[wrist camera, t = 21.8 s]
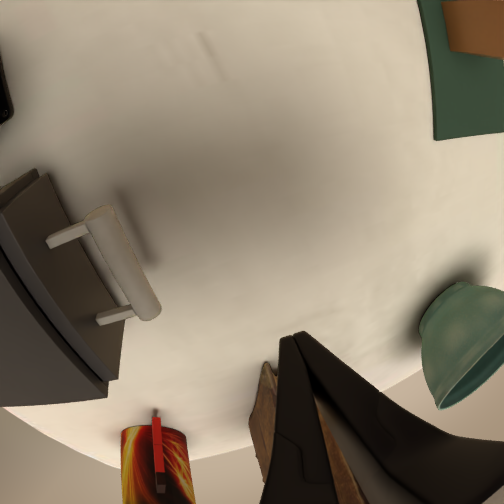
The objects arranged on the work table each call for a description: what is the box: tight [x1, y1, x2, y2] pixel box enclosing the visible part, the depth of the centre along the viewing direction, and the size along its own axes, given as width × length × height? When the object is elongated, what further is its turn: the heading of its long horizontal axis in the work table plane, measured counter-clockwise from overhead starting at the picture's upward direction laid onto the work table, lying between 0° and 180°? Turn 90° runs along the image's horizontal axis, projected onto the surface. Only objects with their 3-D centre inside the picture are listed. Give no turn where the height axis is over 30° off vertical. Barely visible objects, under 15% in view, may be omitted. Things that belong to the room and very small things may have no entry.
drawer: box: [0, 173, 162, 382], centre depth 15 cm, size 18×12×6 cm
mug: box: [121, 417, 196, 504], centre depth 29 cm, size 10×14×12 cm
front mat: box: [417, 0, 504, 141], centre depth 14 cm, size 20×12×1 cm, turn 12°
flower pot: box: [419, 282, 504, 410], centre depth 28 cm, size 16×16×11 cm
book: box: [249, 363, 370, 504], centre depth 23 cm, size 17×7×25 cm, turn 166°
